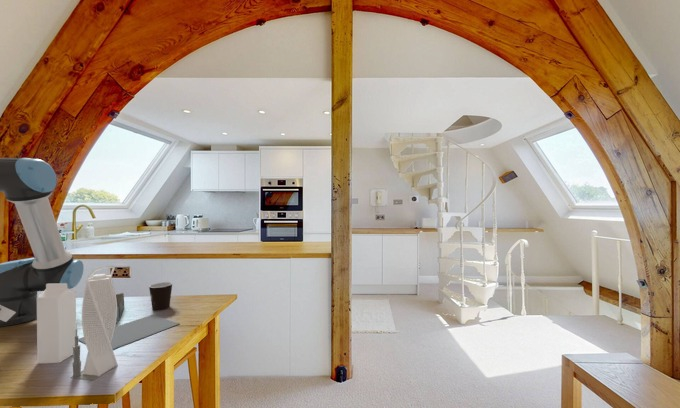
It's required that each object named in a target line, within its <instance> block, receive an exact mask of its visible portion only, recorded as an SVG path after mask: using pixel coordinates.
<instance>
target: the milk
mask: <svg viewBox="0 0 680 408" xmlns="http://www.w3.org/2000/svg"><path fill="white" fill-rule="evenodd" d="M76 292H77V291H76V290H73V289H68V288H67V283H56V284H46V289H45V290H44V291H41V293H40V294H39V295H37V296H38V297H37V318H36V339H37V341H36V343H37V349H36V351H37V358H36V359H37V364H59V363H61V362H63V361H65V360H67V359H68V358H70V357H71V356H73V346H75V336H76V329H77V300H76V299H77V296H76V294H77V293H76Z"/></svg>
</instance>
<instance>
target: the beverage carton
mask: <svg viewBox="0 0 680 408" xmlns="http://www.w3.org/2000/svg"><path fill="white" fill-rule="evenodd" d="M115 294H116V293H115ZM116 299H117V319H116V321H117V322H120V321H121V317H122V313H123V312H124V308H125V294H124V293H123V292H121V293H117V294H116Z"/></svg>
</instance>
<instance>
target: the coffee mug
mask: <svg viewBox="0 0 680 408" xmlns="http://www.w3.org/2000/svg"><path fill="white" fill-rule="evenodd" d="M148 288H149V295H150V302H151V309H152V311H156V312H157V311H158V310H159V311H164V310H167V309H170V307H171V300H172V299H171V298H172V290H173V289H172V288H173V282H170V281H165V282H156V283H152V284H150V285H148Z"/></svg>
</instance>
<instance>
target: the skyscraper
mask: <svg viewBox="0 0 680 408" xmlns="http://www.w3.org/2000/svg"><path fill="white" fill-rule="evenodd" d="M115 268H116V267H115V266H111V265H110V266H108V265H107V266H104V267H99V268H97V269H95V270H93V271H92V272H91V273H90V274H89V275H88V276H87V279H86V281H85V283H86V284H85V289H84V293H83V297H82V298H83V299H82V305H81V325H82V332H83V337H84V338H85V342H86V344H85V346H86V348H87V354H86V358H85V363H84V367H83V370H82V360H81V344H79V341H78V339H79V338H80V337H79V335H78V329H77V328H76V336H75V346H73V355H72V356H73V362H72V363H71V364H72V376H71V377H70V379H76V380H77V379H78V380H87V381H95V380H96V379H98V378H99V377H101V376H103V375H105V374H106V373H108V372H109V371H112V370H113V369H114V368H116V367H118V362H117V358H116V355H115V352H114V350H113V349H112V346H111V340H112V337H113V333H114V329H115V327H116V326H117V325H116V324H117V322H116V319H117V299H116V290H115V286H114V282H113V280H112V277H113V274H114V271H115ZM105 269H111V272H110V274H109V275H108V274H107V273H97V274H95V273H96V272H98V271H101V270H105Z"/></svg>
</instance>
